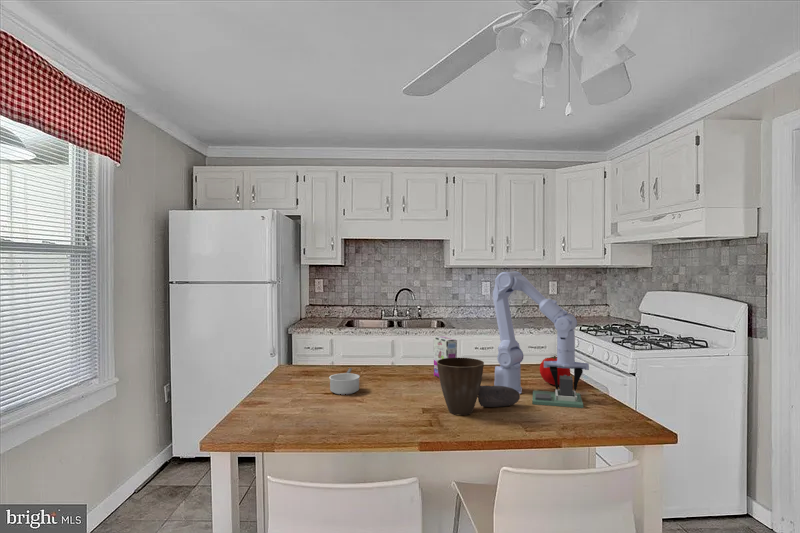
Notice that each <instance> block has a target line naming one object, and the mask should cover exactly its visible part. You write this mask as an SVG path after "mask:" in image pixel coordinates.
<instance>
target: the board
mask: <svg viewBox="0 0 800 533" xmlns="http://www.w3.org/2000/svg"><path fill="white" fill-rule="evenodd" d="M531 401H532V405H537V406H549V407H550V406H551V407H552V406H553V407H562V408H563V407H567V408H577V409H578V408H579V409H583V408H584V403H583V399H582V395H581V393H579V392H577V391H574V389H573V396H560V388H558V390H557V389H556V388H555V391H550V390H548V391H547V390H535V389H534V390H532V400H531Z"/></svg>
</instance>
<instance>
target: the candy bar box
mask: <svg viewBox="0 0 800 533" xmlns="http://www.w3.org/2000/svg"><path fill="white" fill-rule="evenodd" d="M457 344H458V340H457V339H454V338H450V337H446V336H433V376H434V377H436V378H439V374H438V367H437V361H438V360H440V359H445V358H458V356H457V355H458V354H457V353H458V352H457V351H458V350H457V349H458V348H457V347H458V345H457Z"/></svg>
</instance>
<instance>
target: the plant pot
mask: <svg viewBox="0 0 800 533" xmlns="http://www.w3.org/2000/svg"><path fill="white" fill-rule="evenodd" d="M484 364H485V363H484V361H483V360H481V359H478V358H473V357H472V358H470V357H457V358H445V359H440V360H438V361H437V367H438V374H439V382H440V389H441V391H442V395H443V398H444V401H445V403H446V407H447V409H448V412H449V413H450V414H452V415H457V416H468V415H471V414H472V413H473V411H474V409H475V406H476V403H477V400H478V393H479V389H480V386H482V384H481V383H482V379H483V374H484V373H483V372H484Z"/></svg>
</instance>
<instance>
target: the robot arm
mask: <svg viewBox="0 0 800 533" xmlns="http://www.w3.org/2000/svg"><path fill="white" fill-rule="evenodd" d="M494 281H495V282H494V284H495V285H494V286H493V287H494V288H493V291H492V300H493V306H494V311H495V317H496V322H497V329H498V334H499V340H500V342H499V345H498V346H497V351H498V352H497V357H496V359H497V362H498V364H499V365H495V366H494V382H493V384H494V385H493V386H505V387H510V388H513V389H515V390H516V391H518V392H519V395H520V394H522V391H523V387H522V386H521V385H522V384H521V383H522V382H521V379H522V378H521V367H522V366H521V362H523V360H524V351H522V349H521V347H520V343H519V342H518V340H516V337H515V336H516V335H515V330H514V326H513V319H512V314H511V313H512V312H511V308H510V302H509V297H510V296H511V294H512V293H513V292H514V291H519V292H523V293H524V294H525V295H526V296H528V297H529V298H530V299H531V300H532V301H534V302H535V303H536V304H537V305H538V306H539V307H538V308H539V311H540V313H542V315H544V316H545V317H546V318H547V319H548V320H550V321H551V322H552V324H553V325H554V329H555V330H556V331H557V332H556V334H557V336H556V344H557V345H556V354H557V355H556V357H557V361H544V368H547V367H550V371H551V374H552V376H553V378H554V381H555V385H554V386H555V389H557V390H558V389H559V385H558V371H557V368H569V369H570V370H571V369H573V376H574V380H573V390H574V391H575V392H577V388H578V384H579V381H580V379H581V377H582V375H583V373H584V372H583V370H585V371H589V369H590V364H589V362H580V361H579V362H578V361H576V355H575V354H576V345H575V343H576V341H575V340H576V337H575V335H576V334H575V332H576V331H575V329H576V328H577V326H578V320H577V318H576V317H575V316H574V315H573V314H572V313H568V311H567V310H566V309H563V308H562V307H561V306H560V305H559V304H558V301H557V300H556V299H552V298H546V297H545V295H543V294H542V293H541V292H540V291H539V289H537V288H536V287H535V286H534V285H533V283H531V282H530V280H528V278H527V277H526V276H524V275H523V274H522V273H521V272H520V271H516V270H514V271H502V272H499V274H498V275H497V276H496V278H495V279H494Z"/></svg>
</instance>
